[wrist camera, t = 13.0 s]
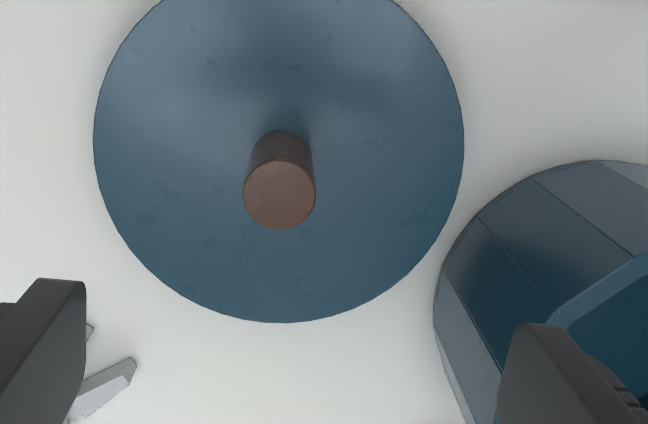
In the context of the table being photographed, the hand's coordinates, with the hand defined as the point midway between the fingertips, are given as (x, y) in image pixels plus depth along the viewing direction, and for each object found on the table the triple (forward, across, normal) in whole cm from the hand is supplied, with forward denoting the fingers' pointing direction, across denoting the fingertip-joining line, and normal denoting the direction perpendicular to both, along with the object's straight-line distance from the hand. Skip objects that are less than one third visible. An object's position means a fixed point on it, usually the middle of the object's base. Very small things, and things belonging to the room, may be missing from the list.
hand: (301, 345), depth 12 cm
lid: (+16, 0, +1) cm, 16 cm away
